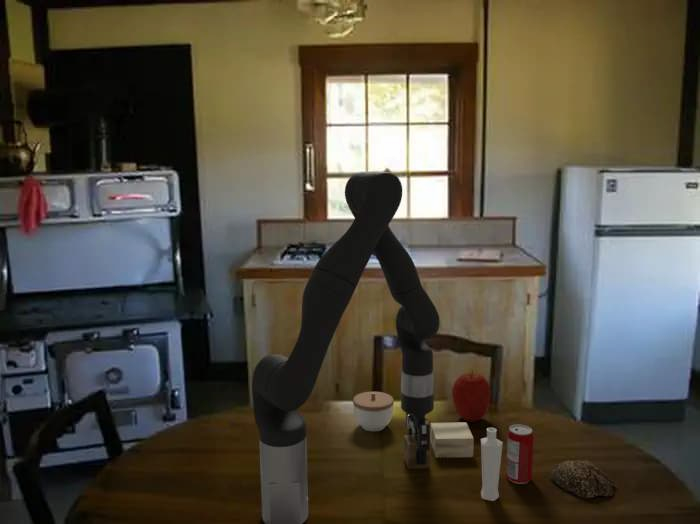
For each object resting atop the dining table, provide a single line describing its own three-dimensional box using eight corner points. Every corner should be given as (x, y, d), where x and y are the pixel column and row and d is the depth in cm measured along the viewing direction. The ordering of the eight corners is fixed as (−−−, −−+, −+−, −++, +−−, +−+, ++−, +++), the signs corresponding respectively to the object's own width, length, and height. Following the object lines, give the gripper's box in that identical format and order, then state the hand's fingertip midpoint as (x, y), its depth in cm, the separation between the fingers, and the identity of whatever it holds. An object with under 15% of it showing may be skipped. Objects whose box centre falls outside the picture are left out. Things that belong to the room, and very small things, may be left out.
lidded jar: (348, 432, 165) (347, 398, 163) (359, 416, 175) (359, 383, 173) (388, 437, 162) (388, 403, 160) (397, 420, 172) (397, 387, 170)
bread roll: (542, 476, 143) (543, 455, 142) (586, 466, 147) (587, 446, 146) (581, 505, 131) (582, 483, 130) (628, 493, 135) (629, 472, 134)
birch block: (473, 457, 151) (473, 438, 150) (435, 458, 151) (435, 439, 150) (465, 440, 160) (466, 422, 159) (430, 441, 160) (430, 422, 159)
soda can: (534, 476, 142) (536, 425, 140) (527, 487, 138) (530, 435, 135) (510, 470, 145) (511, 420, 143) (502, 480, 140) (504, 430, 138)
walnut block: (429, 467, 147) (429, 443, 145) (408, 469, 146) (408, 445, 145) (424, 457, 151) (424, 434, 150) (404, 458, 151) (404, 435, 150)
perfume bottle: (484, 487, 138) (486, 423, 135) (503, 494, 135) (505, 428, 132) (474, 496, 134) (475, 430, 131) (493, 503, 131) (495, 436, 129)
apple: (487, 411, 177) (489, 364, 174) (492, 427, 167) (494, 377, 165) (450, 410, 178) (451, 363, 175) (452, 426, 168) (453, 376, 166)
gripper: (441, 400, 139) (440, 469, 142) (426, 377, 153) (425, 440, 156) (407, 403, 138) (407, 471, 141) (395, 379, 152) (395, 442, 155)
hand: (417, 455), depth 148 cm, fingers open, 8 cm apart
